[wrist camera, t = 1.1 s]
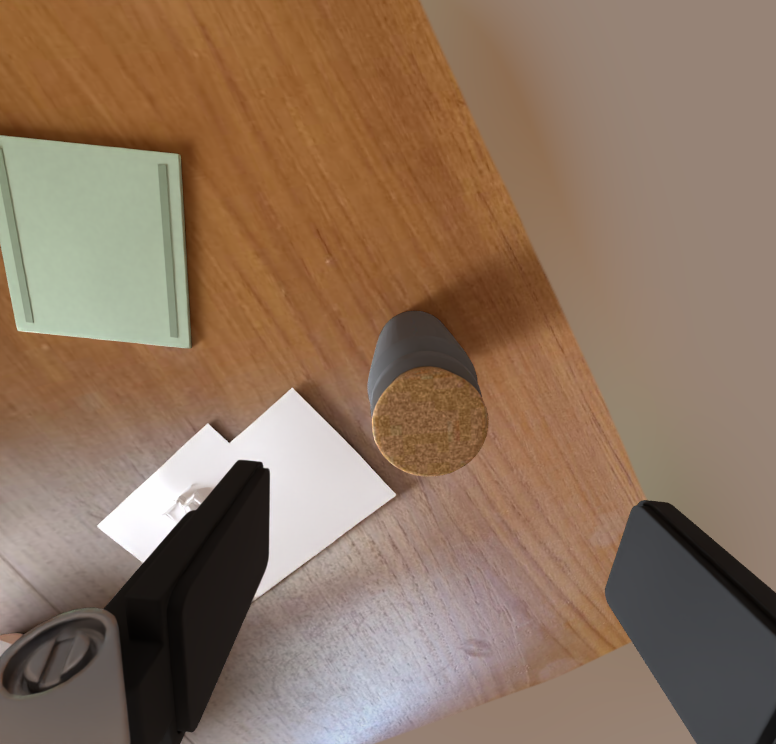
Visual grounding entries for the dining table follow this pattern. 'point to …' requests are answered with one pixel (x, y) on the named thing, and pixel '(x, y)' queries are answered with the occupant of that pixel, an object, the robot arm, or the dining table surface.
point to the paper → (287, 487)
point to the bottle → (425, 397)
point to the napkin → (94, 241)
